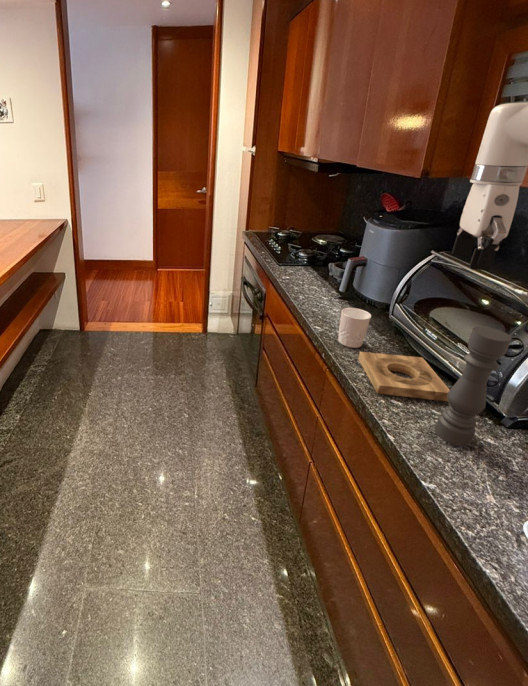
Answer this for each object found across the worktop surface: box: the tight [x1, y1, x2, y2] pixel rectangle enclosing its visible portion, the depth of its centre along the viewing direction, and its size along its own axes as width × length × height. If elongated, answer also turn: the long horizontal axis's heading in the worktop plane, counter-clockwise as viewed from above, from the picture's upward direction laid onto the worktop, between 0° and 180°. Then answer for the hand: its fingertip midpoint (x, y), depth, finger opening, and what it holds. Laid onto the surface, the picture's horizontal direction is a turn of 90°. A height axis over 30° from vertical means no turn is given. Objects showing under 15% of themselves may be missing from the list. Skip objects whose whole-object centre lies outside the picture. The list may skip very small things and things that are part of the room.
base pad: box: [357, 351, 451, 403], centre depth 101 cm, size 16×16×2 cm
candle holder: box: [434, 326, 512, 448], centre depth 78 cm, size 6×6×25 cm
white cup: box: [337, 307, 372, 349], centre depth 117 cm, size 8×8×10 cm
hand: (469, 261), depth 79 cm, fingers open, 9 cm apart
